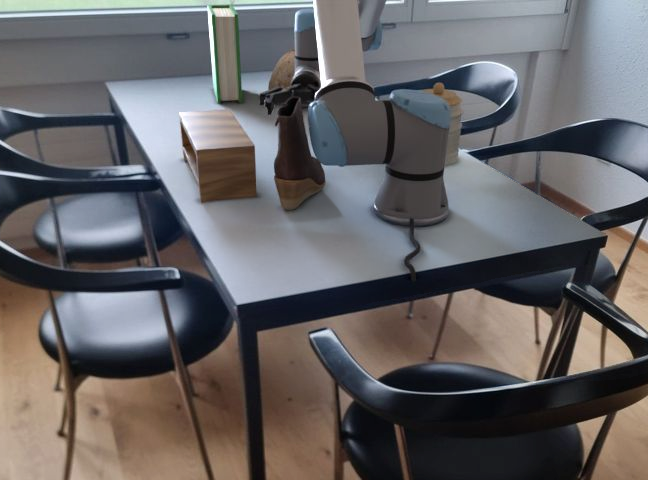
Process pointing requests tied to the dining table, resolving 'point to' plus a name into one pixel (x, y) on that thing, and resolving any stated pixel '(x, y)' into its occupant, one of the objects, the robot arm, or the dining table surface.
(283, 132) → the boot
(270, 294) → the dining table surface
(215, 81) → the hardback book
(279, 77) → the bread
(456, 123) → the jar
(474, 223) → the dining table surface
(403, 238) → the dining table surface
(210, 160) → the shoe rack
